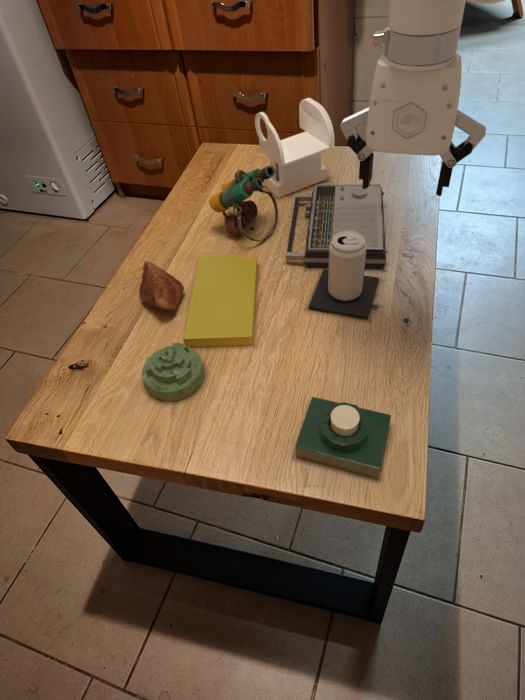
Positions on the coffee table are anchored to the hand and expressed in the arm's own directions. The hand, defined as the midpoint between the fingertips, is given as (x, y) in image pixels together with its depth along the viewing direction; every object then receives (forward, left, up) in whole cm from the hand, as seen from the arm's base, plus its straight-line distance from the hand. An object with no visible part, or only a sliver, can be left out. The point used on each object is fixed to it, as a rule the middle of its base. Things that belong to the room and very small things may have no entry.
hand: (402, 187), depth 65 cm
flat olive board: (+30, +1, -28) cm, 41 cm away
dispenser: (+1, +25, -27) cm, 37 cm away
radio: (+14, -25, -28) cm, 40 cm away
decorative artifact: (+31, +21, -28) cm, 47 cm away
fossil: (+42, +4, -28) cm, 51 cm away
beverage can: (+8, -6, -27) cm, 29 cm away
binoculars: (+34, -22, -28) cm, 49 cm away
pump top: (+1, +25, -23) cm, 34 cm away
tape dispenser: (+29, -43, -28) cm, 59 cm away
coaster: (+8, -6, -27) cm, 29 cm away
